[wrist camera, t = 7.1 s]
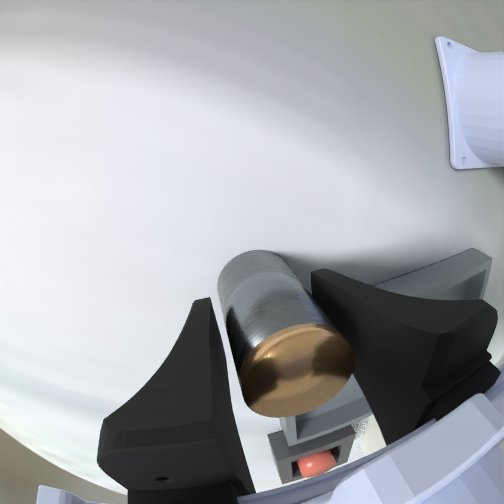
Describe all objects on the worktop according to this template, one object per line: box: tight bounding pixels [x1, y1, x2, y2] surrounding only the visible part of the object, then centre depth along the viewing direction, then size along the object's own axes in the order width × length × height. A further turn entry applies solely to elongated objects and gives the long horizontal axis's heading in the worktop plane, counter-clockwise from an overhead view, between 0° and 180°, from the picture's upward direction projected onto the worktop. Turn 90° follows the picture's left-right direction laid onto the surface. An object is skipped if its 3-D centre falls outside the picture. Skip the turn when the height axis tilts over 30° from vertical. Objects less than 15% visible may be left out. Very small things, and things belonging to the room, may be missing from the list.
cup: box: [360, 415, 386, 456], centre depth 20 cm, size 8×8×5 cm
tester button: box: [296, 449, 336, 477], centre depth 17 cm, size 3×3×2 cm
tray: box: [280, 248, 492, 446], centre depth 16 cm, size 16×10×2 cm, turn 99°
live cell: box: [217, 250, 355, 418], centre depth 10 cm, size 3×3×6 cm
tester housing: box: [268, 424, 356, 484], centre depth 18 cm, size 6×6×2 cm
